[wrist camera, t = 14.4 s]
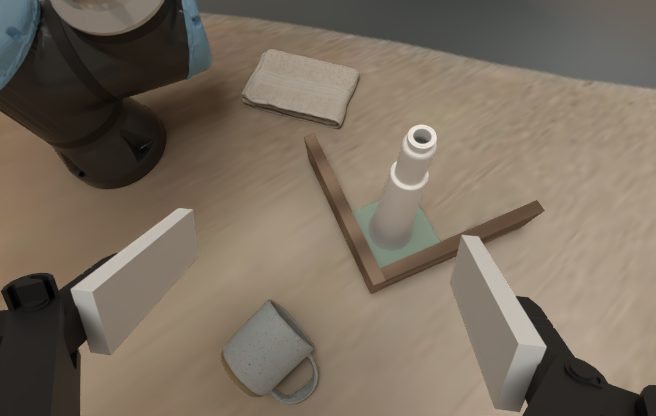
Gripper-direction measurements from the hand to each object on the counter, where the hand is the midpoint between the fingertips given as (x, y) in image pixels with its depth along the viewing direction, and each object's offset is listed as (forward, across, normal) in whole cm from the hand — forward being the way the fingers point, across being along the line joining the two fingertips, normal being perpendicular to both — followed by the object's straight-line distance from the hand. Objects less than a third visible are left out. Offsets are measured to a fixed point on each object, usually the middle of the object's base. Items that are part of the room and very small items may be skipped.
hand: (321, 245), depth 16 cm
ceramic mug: (+16, -6, -25) cm, 30 cm away
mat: (+28, +7, -13) cm, 31 cm away
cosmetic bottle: (+28, +6, -13) cm, 31 cm away
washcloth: (+46, -10, +3) cm, 47 cm away
